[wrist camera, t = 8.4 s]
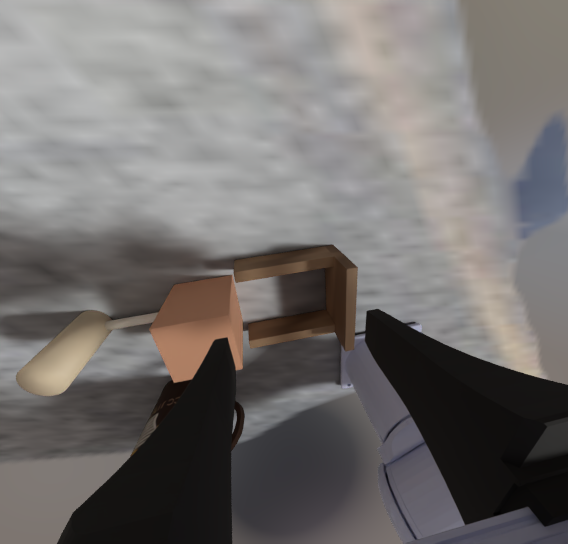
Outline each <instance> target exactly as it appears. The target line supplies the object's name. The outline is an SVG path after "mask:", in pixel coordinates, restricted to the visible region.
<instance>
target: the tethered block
mask: <svg viewBox="0 0 568 544" xmlns="http://www.w3.org/2000/svg"><path fill="white" fill-rule="evenodd" d="M147 323H152V325H151V327H150V329H149V330H150V332H151V334H152V336H153V339H154V341H155V343H156V345H157V347H158V349H159V352H160V354H161V356H162V358H163V360H164V362H165V364H166V367H167V369H168V371H169V373H170V375H171V377H172V380H173V382H174V383H176V382H181V381H186V380H191V379H192V378H193V377H194V375H195V374H196V372H197V370H198V368H199V367H200V365H201V363H202V362H203V360H204V358H205V356H206V354H207V352H208V351H209V349H210V347H211V345H212V343H213V341H214V340H215V339H220V338H225V337H227V338H228V341H229V345H230V349H231V352H232V356H233V359H234V363H235V367H236V370H239V369H243V320H242V315H241V311H240V307H239V302H238V298H237V294H236V289H235V285H234V281H233V276H232V275H229V276H223V277H217V278H211V279H205V280H199V281H193V282H187V283H181V284H175V285H174V286H173V288H172V289H171V291H170V293H169V295H168V297H167V298H166V300H165V302H164V304H163V306H162V307H161V309H160V311H159V312H157V313H151V314H145V315H140V316H134V317H128V318H122V319H117V320H111V318H110V317H109V316H108V315H106V314H104V313H102V312H99V311H94V310H90V311H85V312H83V313H81V314H80V315H79V316H78V317H76V318H75V319H74V320H73V321H72V322H71V323H70V324H69V325H68V326H67V327H66V328H65V329H64V330H63V331H61V332H60V333H59V334H58V335H57V336H56V337H55V338H54V339H53V340H52V341H51V342H50V343H49V344H48V345H47V346H45V347H44V348H43V349H42V350H41V351H40V352H39V353H38V354H37V355H36V356H35V357H34V358H33V359H32V360H31V361H29V362H28V363H27V364H26V365H25V366H24V367H23V368H22V369H21V370H20V371H19V372H18V373H17V375H16V380H17V383H18V384H19V386H20V387H21V388H23V389H24V390H26V391H27V392H29V393H32V394H35V395H40V396H54V395H58V394H61V393H63V392H64V391H65V390H66V389H67V388H68V387H69V386H70V384H71V383H72V382H73V380H74V379H75V378H76V376H77V375H78V374H79V373H80V371H81V370H82V369H83V367H84V366H85V365H86V364H87V362H88V361H89V360H90V358H91V357H92V356H93V355H94V353H95V352H96V351H97V349H98V348H99V347H100V345H101V344H102V343H103V342H104V340H105V339H106V338H107V336H108V335H109V334H110V333H111V331H112V330H114V329H119V328H125V327H130V326H136V325H142V324H147Z"/></svg>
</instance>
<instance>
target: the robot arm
mask: <svg viewBox="0 0 568 544" xmlns="http://www.w3.org/2000/svg"><path fill="white" fill-rule="evenodd" d="M421 330H422V326H421V325H420V324H419V323H415V324H410V325H406V324H404V323H402V322H401V321H399V320H397V319H395V318H394V317H392V316H390V315H388V314H387V313H385V312H383V311H381V310H379V309H375V310H369V311H367V315H366V330H365V333H364V334H359V335H355V342H354V350H350V351H345V350H344V348H343V346H342V345H341V387H342V388H350V387H354V389H355V391H356V393H357V395H358V397H359V399H360V401H361V403H362V405H363V407H364V409H365V411H366V413H367V415H368V417H369V419H370V421H371V423H372V425H373V427H374V429H375V431H376V433H377V435H378V437H379V440H380V442H381V443H382V446H380V447H379V448H378V449H377V450H378V452H379V454H380V456H381V458H382V460H383V463H381V464H380V465H379V467H378V485H379V490H380V494H381V497H382V500H383V503H384V506H385V508H386V511H387V513H388V515H389V518H390V520H391V522H392V524H393V526H394V528H395V530H396V532H397V534H398V536H399V537H400V539H401V541H402V542H403V544H568V385H565V384H562V383H557V382H554V381H550V380H546V379H542V378H538V377H534V376H531V375H528V374H524V373H521V372H517V371H514V370H511V369H508V368H505V367H502V366H498V365H496V364H493V363H490V362H487V361H484V360H482V359H479V358H476V357H474V356H471V355H468V354H466V353H464V352H461V351H459V350H456V349H454V348H452V347H449V346H447V345H445V344H443V343H441V342H439V341H437V340H435V339H432V338H430V337H428V336H426V335H425V334H423V333H422V332H421ZM235 395H236V367H235V363H234V359H233V356H232V352H231V349H230V345H229V341H228V338H227V337H225V338H220V339H215V340H214V341H213V343H212V345H211V347H210V349H209V351H208V352H207V354H206V356H205V358H204V360H203V362H202V363H201V365H200V367H199V368H198V370H197V372H196V374H195V375H194V377H193V378H192V380H191V382H190V383H189V385H188V386H187V388H186V389H185V391H184V392H183V394H182V395H181V397H180V398H179V399H178V401H177V402H176V404H175V405H174V406H173V408H172V409H171V410H170V412H169V413H168V414H167V416H166V417H165V418H164V419H163V421H162V422H161V423H160V424H159V425H158V427H157V428H156V429H155V430H154V431H153V433H152V434H151V435H150V436H149V437H148V439H147V440H146V441H145V442H144V443H143V444H142V445H141V446H140V447H139V449H138V450H137V451H136V452H135V453H134V454H133V455H132V456H131V457H130V458H129V459H128V460H127V461H126V462H125V463H124V464H123V465H122V467H121V468H119V470H118V471H117V472H116V473H115V474H114V475H112V476H111V478H110V479H109V480H107V481H106V483H104V484H103V485H102V486H101V487H100V488H99V489H98V490H97V491H96V492H95V493H94V494H93V495H91V497H89V498H88V499H87V500H86V501H85V502H84V503H83V504H82V505H81V506H80V507H79V508H78V509H76V510H75V511H74V512H73V514H72V516H71V518H70V520H69V521H68V523H67V525H66V527H65V529H64V530H63V533H62V534H61V537H60V539H59V541H58V543H57V544H232V513H231V442H232V429H233V417H234V406H235Z"/></svg>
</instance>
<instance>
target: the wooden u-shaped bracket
mask: <svg viewBox="0 0 568 544" xmlns="http://www.w3.org/2000/svg"><path fill="white" fill-rule="evenodd" d="M322 268H325V285H326V310H320V311H315V312H309V313H304V314H299V315H293V316H288V317H282V318H277V319H271V320H266V321H260V322H255V323H249V324H248V328H249V344H250V348H256V347H261V346H267V345H272V344H277V343H282V342H287V341H292V340H297V339H303V338H308V337H313V336H318V335H323V334H328V333H333V332H335V333H336V335H337V337H338V339H339V341H340V343H341V345H342V346H343V348H344V350H345V351H350V350H354V342H355V319H356V295H357V271H358V267H357V266H356V265H354V264H353V263H352V262H351V261H350V260H349V259H348V258H347V257H346V256H345V255H344V254H343V253H341V252H340V251H339V250H338V249H337V248H336V247H335V246H334V245H328V246H322V247H316V248H309V249H303V250H296V251H290V252H284V253H277V254H271V255H264V256H258V257H251V258H245V259H239V260H235V262H234V277H235V281H236V283H238V282H244V281H250V280H256V279H262V278H268V277H274V276H280V275H286V274H292V273H298V272H304V271H310V270H316V269H322Z"/></svg>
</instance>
